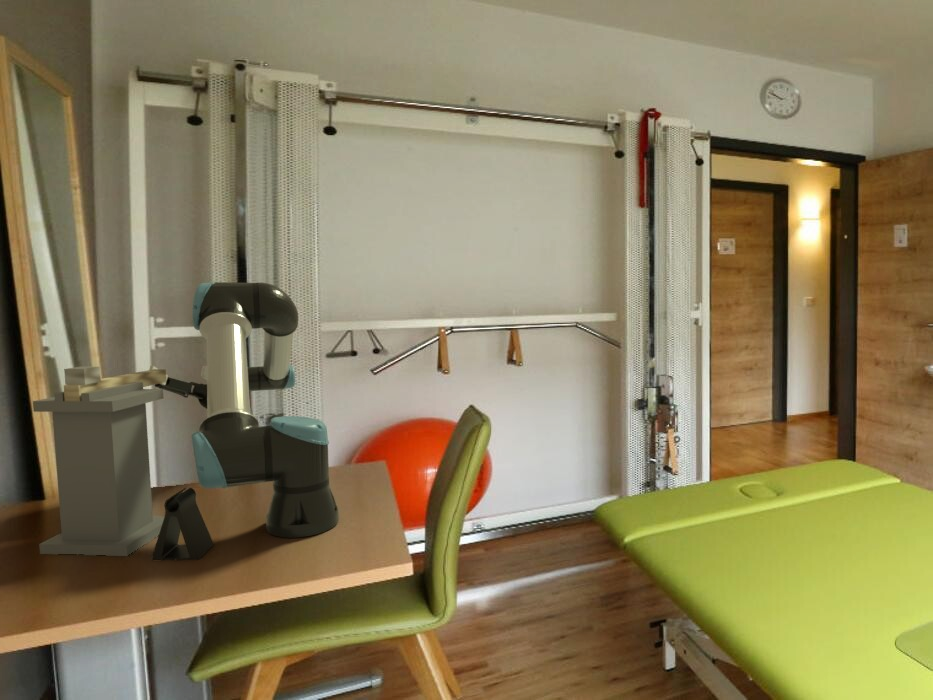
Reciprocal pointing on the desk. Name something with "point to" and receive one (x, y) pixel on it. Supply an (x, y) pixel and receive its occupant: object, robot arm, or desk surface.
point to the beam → (104, 380)
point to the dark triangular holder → (182, 529)
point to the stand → (102, 471)
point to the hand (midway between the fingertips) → (176, 370)
